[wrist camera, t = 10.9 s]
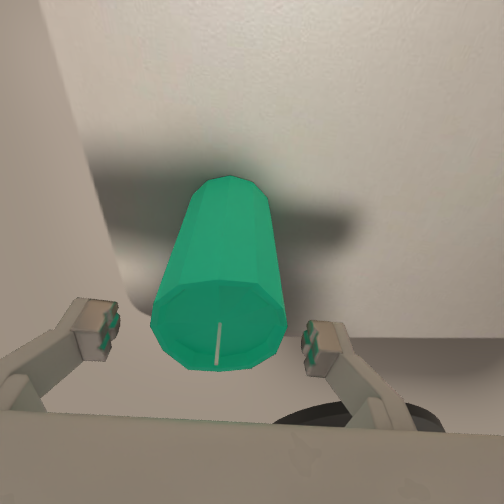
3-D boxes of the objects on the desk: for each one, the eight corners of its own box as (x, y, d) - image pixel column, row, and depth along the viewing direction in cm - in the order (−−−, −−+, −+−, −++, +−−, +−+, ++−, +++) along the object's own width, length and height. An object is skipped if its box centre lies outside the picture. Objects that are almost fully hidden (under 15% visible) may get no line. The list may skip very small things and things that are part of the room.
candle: (243, 260, 23) (241, 415, 13) (174, 226, 21) (114, 378, 11) (288, 203, 20) (326, 348, 11) (213, 158, 18) (176, 284, 9)
